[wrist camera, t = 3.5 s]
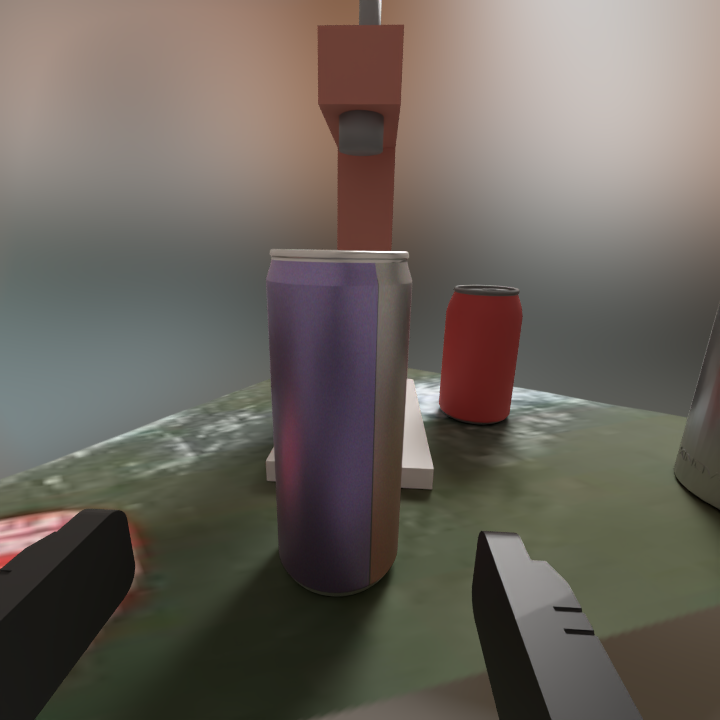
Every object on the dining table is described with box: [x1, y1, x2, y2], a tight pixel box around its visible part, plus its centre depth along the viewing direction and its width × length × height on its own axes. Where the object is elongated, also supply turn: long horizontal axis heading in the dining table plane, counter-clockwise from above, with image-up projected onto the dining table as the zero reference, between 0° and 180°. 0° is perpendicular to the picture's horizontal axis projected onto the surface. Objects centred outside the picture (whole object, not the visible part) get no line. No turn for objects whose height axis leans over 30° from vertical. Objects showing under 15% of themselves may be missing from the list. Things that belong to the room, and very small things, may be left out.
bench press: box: [266, 0, 434, 489], centre depth 29 cm, size 11×18×39 cm, turn 177°
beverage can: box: [266, 249, 412, 596], centre depth 18 cm, size 6×6×15 cm
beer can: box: [439, 285, 523, 425], centre depth 36 cm, size 7×7×12 cm
